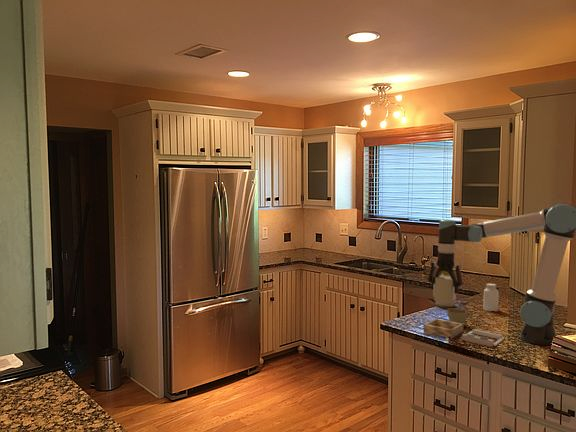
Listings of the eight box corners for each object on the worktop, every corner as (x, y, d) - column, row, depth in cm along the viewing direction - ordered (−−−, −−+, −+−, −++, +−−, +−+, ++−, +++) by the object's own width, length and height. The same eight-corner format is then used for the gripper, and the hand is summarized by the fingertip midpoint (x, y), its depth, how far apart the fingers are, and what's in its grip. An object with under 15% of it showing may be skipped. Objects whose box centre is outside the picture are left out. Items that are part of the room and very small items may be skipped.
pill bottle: (479, 309, 276) (480, 283, 275) (489, 307, 279) (490, 282, 278) (491, 312, 269) (492, 286, 268) (501, 311, 272) (502, 285, 271)
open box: (463, 331, 233) (463, 323, 232) (451, 338, 222) (452, 330, 222) (435, 325, 242) (435, 318, 241) (423, 332, 231) (423, 324, 231)
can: (430, 300, 231) (431, 276, 230) (440, 297, 237) (441, 274, 237) (448, 304, 224) (448, 279, 224) (458, 301, 230) (458, 277, 230)
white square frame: (504, 339, 222) (504, 332, 221) (494, 347, 210) (494, 340, 210) (470, 332, 232) (471, 325, 231) (459, 339, 220) (459, 332, 220)
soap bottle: (456, 304, 286) (457, 261, 285) (454, 308, 276) (455, 264, 274) (436, 302, 291) (438, 259, 289) (433, 306, 281) (435, 262, 279)
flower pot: (462, 321, 250) (462, 308, 249) (470, 327, 240) (470, 313, 239) (443, 321, 250) (444, 308, 249) (450, 327, 240) (451, 313, 239)
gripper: (471, 253, 225) (469, 300, 227) (428, 249, 239) (426, 293, 241) (465, 255, 219) (463, 303, 221) (421, 250, 233) (420, 295, 235)
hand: (444, 298), depth 231 cm, fingers closed on can, 9 cm apart
